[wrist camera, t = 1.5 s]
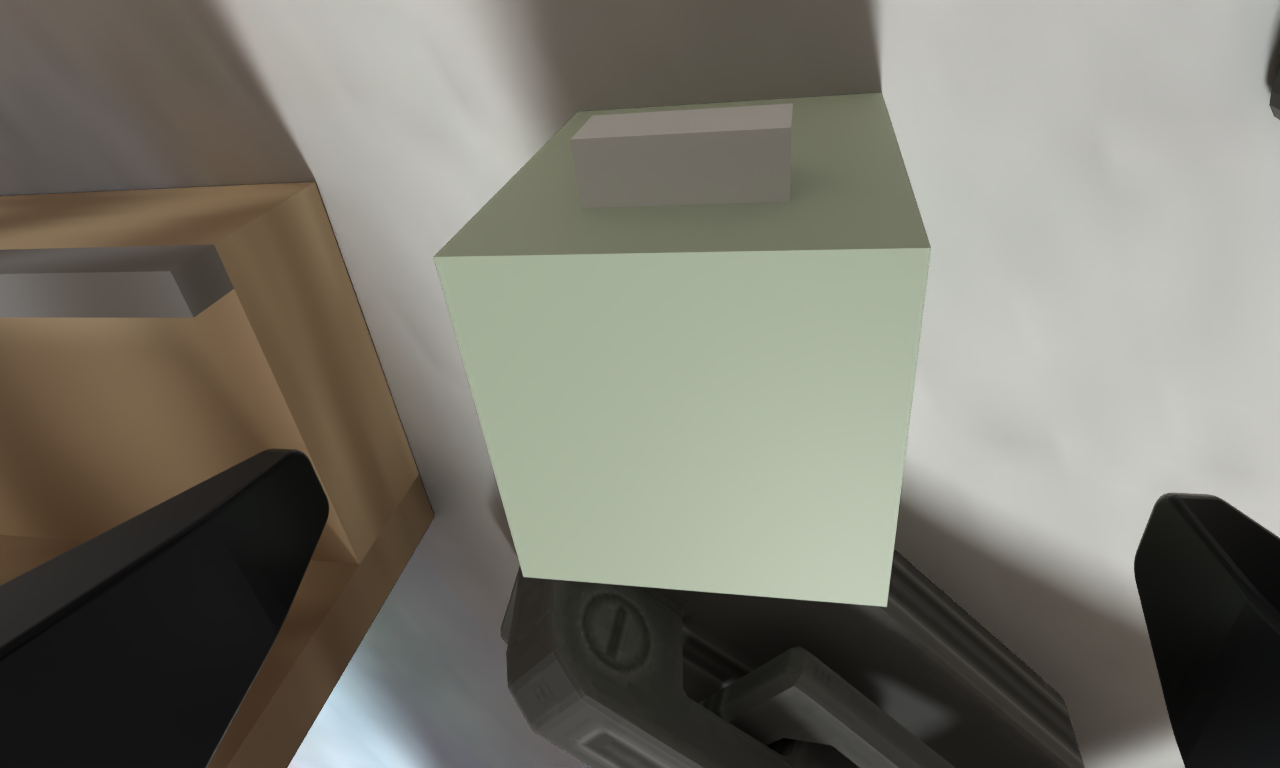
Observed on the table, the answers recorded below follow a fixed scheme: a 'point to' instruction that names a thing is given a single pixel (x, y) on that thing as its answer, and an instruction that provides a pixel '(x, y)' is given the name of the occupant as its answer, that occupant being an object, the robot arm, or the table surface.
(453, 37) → the table surface
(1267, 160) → the table surface
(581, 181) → the cabinet block
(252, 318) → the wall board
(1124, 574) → the table surface
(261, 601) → the robot arm
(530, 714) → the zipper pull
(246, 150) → the table surface
